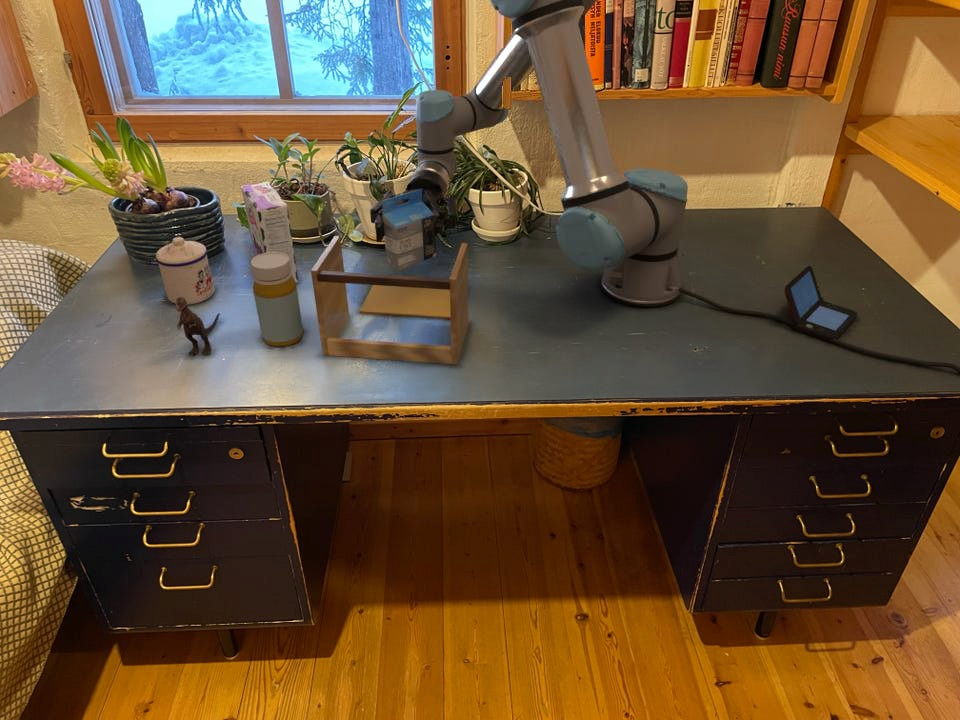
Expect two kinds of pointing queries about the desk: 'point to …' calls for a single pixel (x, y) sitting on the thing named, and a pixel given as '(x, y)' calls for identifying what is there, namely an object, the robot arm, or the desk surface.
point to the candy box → (269, 222)
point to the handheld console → (815, 308)
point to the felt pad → (407, 301)
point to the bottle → (276, 299)
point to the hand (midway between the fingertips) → (404, 236)
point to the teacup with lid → (185, 271)
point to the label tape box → (407, 230)
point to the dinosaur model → (193, 327)
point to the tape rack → (333, 285)
